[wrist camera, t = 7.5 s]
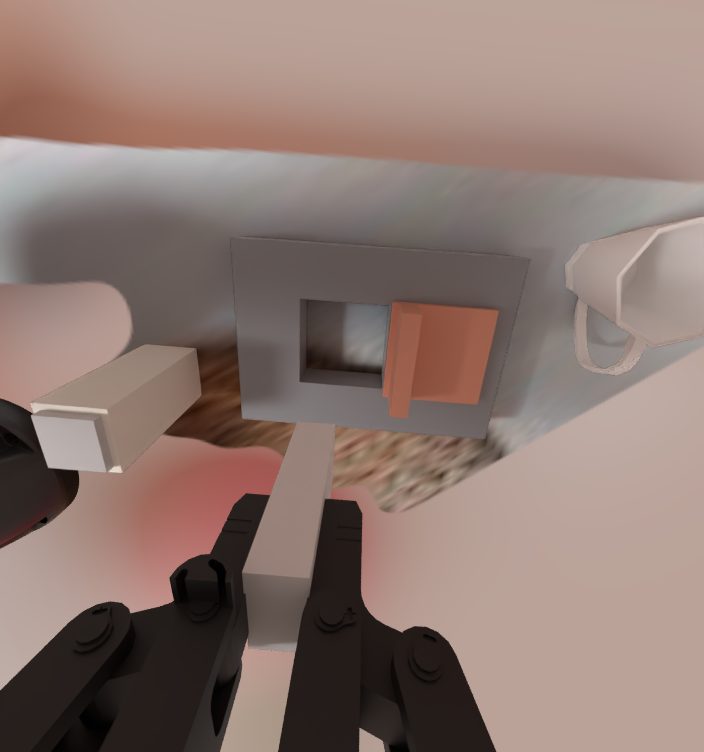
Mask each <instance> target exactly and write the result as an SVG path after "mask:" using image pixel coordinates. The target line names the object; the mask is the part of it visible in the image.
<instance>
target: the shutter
mask: <svg viewBox="0 0 704 752" xmlns="http://www.w3.org/2000/svg"><path fill="white" fill-rule="evenodd" d="M498 314H499V310H497V309H489V308H476V307H463V306H450V305H436V304H423V303H410V302H397V301H393V304H392V313H391V322H390V331H389V340H388V349H387V358H386V367H385V376H384V385H383V397H388V403H389V413H390V417H397V418H407V417H408V410H409V404H410V399H413V400H425V401H438V402H450V403H462V404H474V405H477V404H478V400H479V396H480V391H481V387H482V383H483V378H484V374H485V370H486V365H487V361H488V357H489V352H490V348H491V344H492V340H493V335H494V331H495V327H496V322H497V318H498Z"/></svg>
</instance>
